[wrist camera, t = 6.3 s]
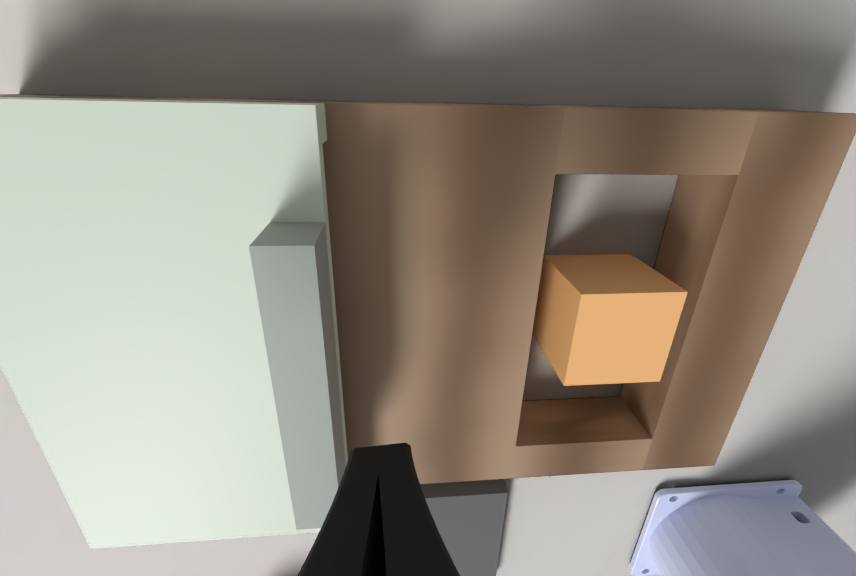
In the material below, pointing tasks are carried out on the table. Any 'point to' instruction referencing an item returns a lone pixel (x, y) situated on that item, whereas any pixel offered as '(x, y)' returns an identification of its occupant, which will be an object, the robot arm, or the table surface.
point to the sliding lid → (173, 313)
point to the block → (605, 318)
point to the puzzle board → (522, 262)
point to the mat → (469, 522)
